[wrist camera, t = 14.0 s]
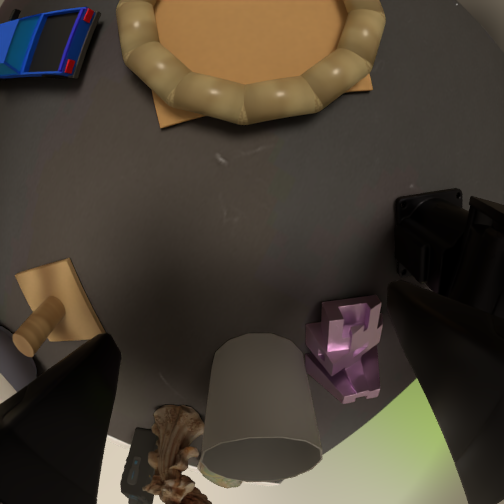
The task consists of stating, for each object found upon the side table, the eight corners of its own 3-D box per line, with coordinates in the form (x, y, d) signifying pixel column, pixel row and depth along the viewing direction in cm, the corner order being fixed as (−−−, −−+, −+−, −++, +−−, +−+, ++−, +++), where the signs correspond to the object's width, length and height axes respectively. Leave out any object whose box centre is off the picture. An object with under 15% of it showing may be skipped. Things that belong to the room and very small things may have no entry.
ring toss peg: (69, 257, 20) (24, 297, 14) (107, 334, 23) (79, 384, 17) (17, 272, 21) (-22, 307, 15) (52, 338, 24) (23, 379, 18)
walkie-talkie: (134, 425, 30) (100, 556, 11) (158, 429, 30) (130, 565, 11) (143, 442, 32) (117, 560, 13) (166, 446, 32) (145, 568, 13)
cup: (253, 316, 23) (255, 422, 13) (322, 359, 25) (346, 451, 15) (195, 370, 25) (179, 462, 16) (262, 404, 27) (265, 487, 18)
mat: (318, -60, 10) (319, -64, 10) (369, 91, 16) (373, 89, 15) (133, -28, 12) (130, -31, 11) (162, 128, 17) (160, 128, 16)
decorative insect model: (279, 458, 31) (272, 489, 27) (237, 469, 36) (229, 494, 32) (223, 434, 30) (212, 466, 26) (190, 448, 36) (179, 473, 31)
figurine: (198, 396, 27) (180, 530, 13) (224, 424, 29) (218, 541, 15) (143, 405, 28) (113, 519, 14) (172, 432, 30) (154, 535, 16)
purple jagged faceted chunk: (305, 300, 22) (321, 352, 17) (385, 290, 22) (417, 333, 16) (304, 370, 25) (314, 420, 20) (372, 359, 25) (392, 404, 19)
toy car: (12, 23, 11) (-22, 15, 7) (110, 9, 13) (78, -14, 8) (-9, 89, 14) (-46, 90, 9) (81, 89, 15) (40, 83, 11)
